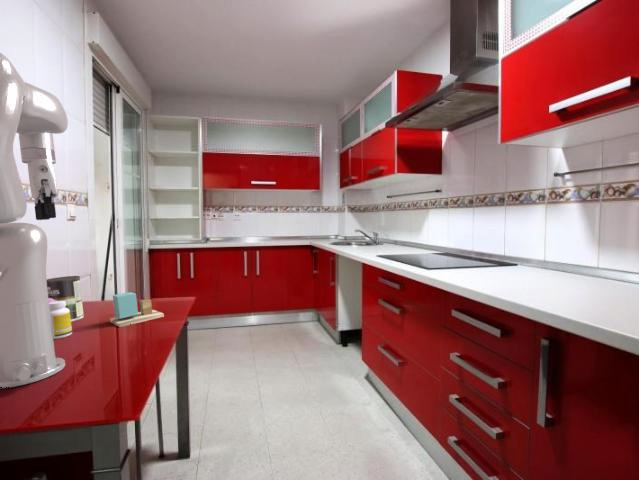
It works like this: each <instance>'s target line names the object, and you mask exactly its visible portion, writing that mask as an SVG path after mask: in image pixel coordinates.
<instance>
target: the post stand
mask: <svg viewBox="0 0 639 480" xmlns="http://www.w3.org/2000/svg"><path fill="white" fill-rule="evenodd" d="M139 306H140V307H139V308H140V311H138V315H134V316H129V317H125V318H118V317H116V316H114V317H112V318H111V317H110V318H109V322H110V323H111V324H114V325H115V326H117V327H119V328H122V327H127V326H130V324H131V325H134V324H139V323H143V322H147V321H150V320H155V319H159V318H164V317H165V315H164V313H163V312H161V311H158V310H156V309H153V305H152V300H151V299H149V298H147V299H143V300H142V299H141V300H139Z"/></svg>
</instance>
